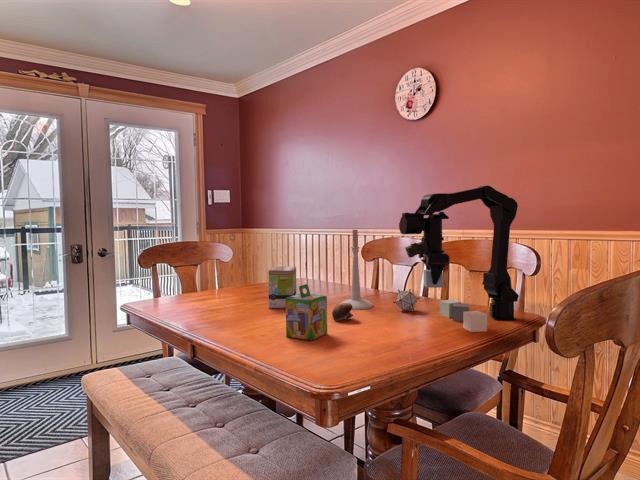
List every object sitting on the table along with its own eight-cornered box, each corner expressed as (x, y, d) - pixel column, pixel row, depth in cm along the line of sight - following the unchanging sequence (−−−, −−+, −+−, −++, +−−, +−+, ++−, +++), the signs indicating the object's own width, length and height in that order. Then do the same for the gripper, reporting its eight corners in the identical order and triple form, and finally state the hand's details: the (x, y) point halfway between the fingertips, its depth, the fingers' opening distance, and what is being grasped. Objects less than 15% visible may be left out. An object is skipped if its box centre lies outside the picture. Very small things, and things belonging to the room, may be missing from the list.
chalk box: (311, 341, 117) (310, 288, 116) (285, 337, 122) (283, 286, 121) (328, 333, 125) (328, 284, 124) (303, 329, 129) (302, 282, 129)
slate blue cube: (439, 285, 136) (439, 269, 136) (442, 287, 131) (442, 271, 131) (423, 285, 137) (423, 269, 136) (426, 287, 132) (426, 271, 131)
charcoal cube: (469, 318, 140) (469, 303, 140) (469, 322, 136) (469, 306, 135) (453, 317, 142) (453, 303, 142) (452, 321, 137) (452, 306, 137)
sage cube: (451, 313, 148) (451, 299, 148) (461, 316, 143) (461, 302, 143) (439, 315, 146) (439, 300, 146) (449, 318, 142) (449, 303, 141)
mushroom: (361, 309, 143) (350, 294, 142) (354, 322, 136) (342, 308, 135) (344, 317, 147) (333, 303, 146) (336, 331, 141) (324, 317, 140)
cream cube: (479, 327, 130) (479, 311, 129) (487, 331, 125) (487, 314, 124) (463, 327, 129) (463, 311, 129) (470, 332, 124) (470, 315, 124)
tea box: (294, 308, 161) (293, 269, 161) (268, 308, 161) (267, 270, 161) (297, 300, 176) (296, 265, 176) (273, 300, 176) (272, 265, 176)
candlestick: (378, 304, 165) (377, 228, 163) (363, 311, 154) (362, 229, 153) (349, 301, 172) (348, 228, 170) (333, 307, 161) (332, 229, 160)
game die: (410, 322, 152) (419, 303, 145) (388, 313, 153) (396, 294, 147) (415, 306, 158) (423, 287, 152) (393, 297, 160) (401, 279, 154)
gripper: (403, 233, 143) (403, 279, 144) (411, 235, 124) (411, 288, 125) (436, 232, 142) (436, 278, 143) (449, 234, 124) (449, 287, 124)
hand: (433, 283), depth 134 cm, fingers closed on slate blue cube, 5 cm apart
